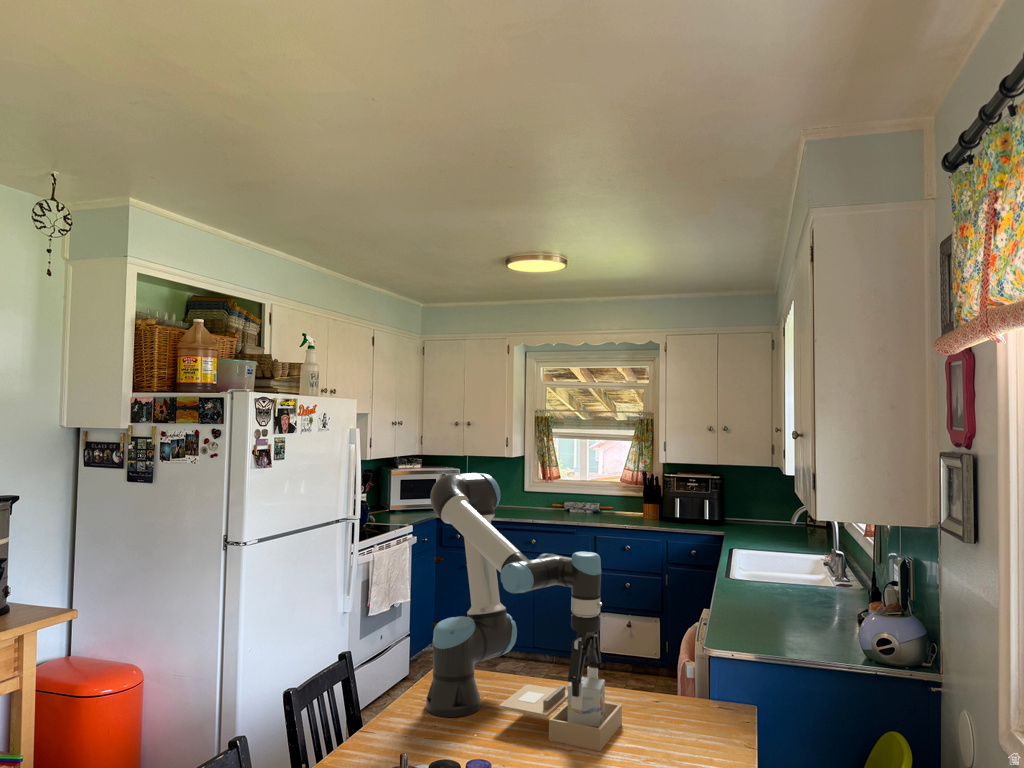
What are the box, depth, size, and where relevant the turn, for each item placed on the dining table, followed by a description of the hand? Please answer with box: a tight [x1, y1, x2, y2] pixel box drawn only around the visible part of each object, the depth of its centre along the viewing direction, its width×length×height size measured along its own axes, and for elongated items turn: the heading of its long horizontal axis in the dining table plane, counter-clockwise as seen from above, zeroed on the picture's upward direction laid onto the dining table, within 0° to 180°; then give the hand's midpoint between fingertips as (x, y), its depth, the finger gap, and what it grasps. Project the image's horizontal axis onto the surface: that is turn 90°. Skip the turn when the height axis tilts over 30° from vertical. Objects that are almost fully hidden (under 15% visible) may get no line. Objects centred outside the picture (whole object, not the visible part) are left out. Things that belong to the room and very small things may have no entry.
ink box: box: [567, 676, 606, 728], centre depth 179 cm, size 9×9×12 cm
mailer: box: [548, 701, 623, 752], centre depth 178 cm, size 13×17×5 cm
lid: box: [498, 683, 568, 719], centre depth 184 cm, size 13×17×3 cm
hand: (584, 700), depth 179 cm, fingers open, 11 cm apart
